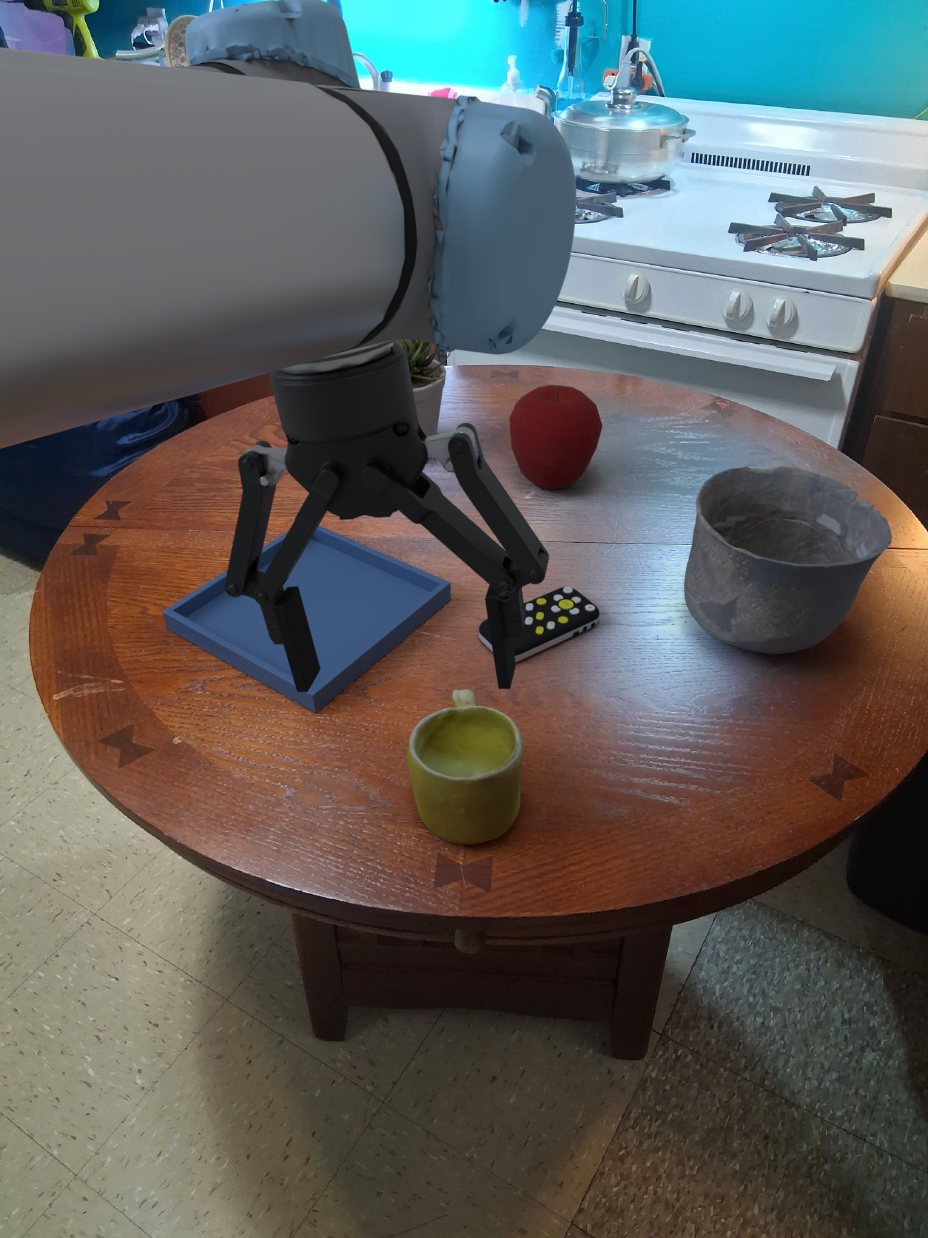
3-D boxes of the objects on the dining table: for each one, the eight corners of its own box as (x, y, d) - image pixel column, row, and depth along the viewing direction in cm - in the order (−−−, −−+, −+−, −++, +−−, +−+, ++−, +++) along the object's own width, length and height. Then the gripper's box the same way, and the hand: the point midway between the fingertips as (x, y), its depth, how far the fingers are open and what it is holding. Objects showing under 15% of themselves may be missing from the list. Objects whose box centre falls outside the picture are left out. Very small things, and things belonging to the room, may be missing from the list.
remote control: (472, 636, 92) (472, 621, 90) (568, 594, 97) (569, 580, 96) (507, 669, 88) (507, 654, 86) (604, 624, 93) (606, 609, 92)
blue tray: (315, 713, 83) (312, 695, 81) (166, 628, 93) (161, 611, 91) (451, 599, 96) (450, 582, 95) (308, 536, 106) (306, 519, 105)
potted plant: (384, 485, 115) (373, 337, 103) (344, 442, 125) (329, 301, 112) (467, 462, 120) (467, 318, 107) (423, 422, 129) (417, 285, 117)
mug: (537, 858, 68) (503, 754, 64) (415, 868, 71) (376, 770, 67) (553, 763, 78) (525, 668, 74) (447, 776, 82) (415, 686, 78)
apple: (600, 505, 111) (610, 408, 103) (508, 505, 111) (511, 408, 103) (591, 459, 120) (600, 367, 112) (507, 459, 121) (509, 366, 112)
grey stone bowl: (858, 609, 95) (902, 488, 85) (834, 713, 82) (882, 587, 73) (696, 566, 101) (720, 450, 91) (651, 658, 89) (673, 535, 79)
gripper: (572, 311, 47) (599, 643, 58) (161, 358, 53) (253, 652, 63) (560, 345, 41) (593, 711, 51) (95, 394, 47) (209, 714, 57)
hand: (405, 679), depth 57 cm, fingers open, 13 cm apart
